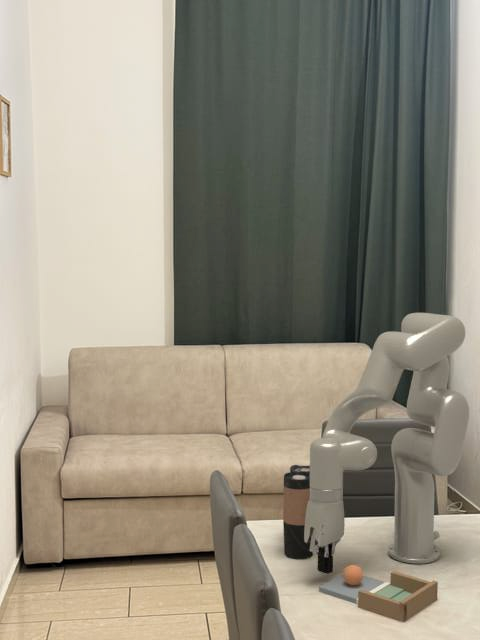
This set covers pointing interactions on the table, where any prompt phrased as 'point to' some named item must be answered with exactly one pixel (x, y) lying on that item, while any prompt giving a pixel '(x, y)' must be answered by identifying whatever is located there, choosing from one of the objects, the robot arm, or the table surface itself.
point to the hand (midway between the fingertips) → (325, 571)
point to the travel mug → (296, 514)
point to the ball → (353, 575)
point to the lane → (386, 594)
